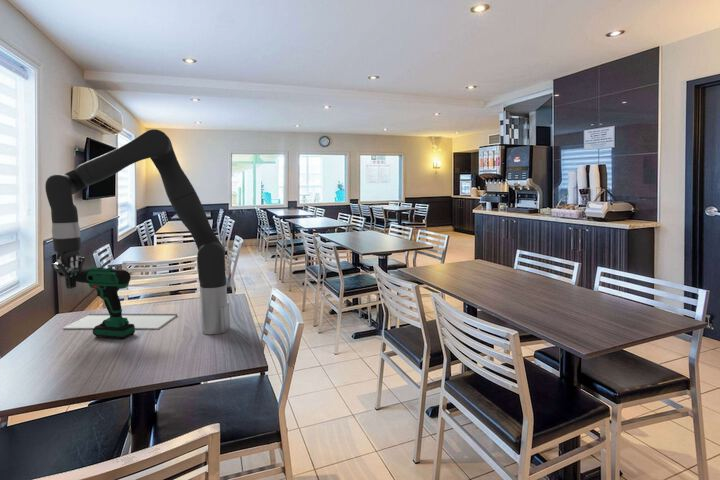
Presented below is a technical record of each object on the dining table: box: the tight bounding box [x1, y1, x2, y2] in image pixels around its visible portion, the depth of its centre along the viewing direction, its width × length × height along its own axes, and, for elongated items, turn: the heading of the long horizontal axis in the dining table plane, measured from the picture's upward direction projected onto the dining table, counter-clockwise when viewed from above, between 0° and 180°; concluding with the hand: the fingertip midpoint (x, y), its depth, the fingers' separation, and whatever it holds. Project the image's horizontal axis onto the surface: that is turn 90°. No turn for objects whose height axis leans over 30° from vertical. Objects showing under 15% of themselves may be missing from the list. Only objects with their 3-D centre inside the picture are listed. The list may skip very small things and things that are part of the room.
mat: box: [62, 313, 178, 330], centre depth 163 cm, size 36×16×1 cm, turn 89°
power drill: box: [56, 266, 136, 340], centre depth 148 cm, size 6×29×25 cm, turn 78°
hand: (71, 287), depth 137 cm, fingers closed
